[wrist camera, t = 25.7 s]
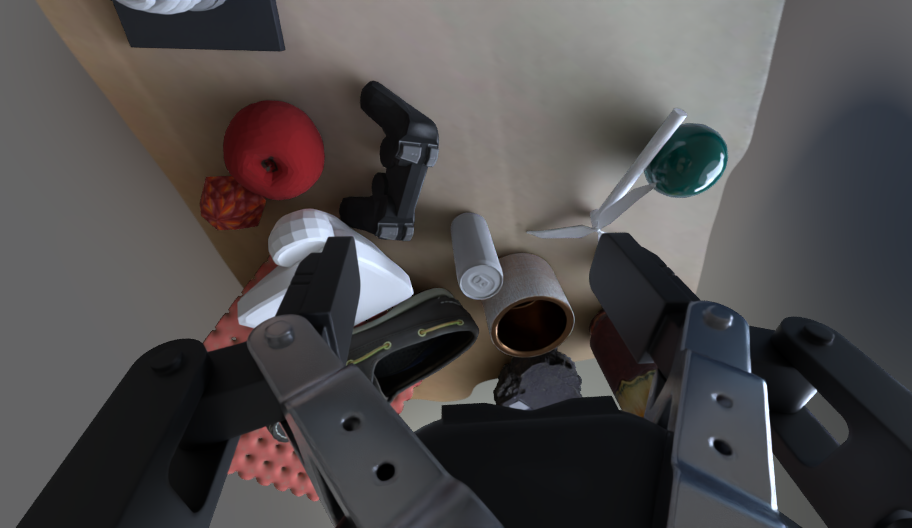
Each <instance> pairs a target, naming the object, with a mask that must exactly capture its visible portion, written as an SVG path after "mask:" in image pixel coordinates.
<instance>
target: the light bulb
mask: <svg viewBox="0 0 912 528" xmlns="http://www.w3.org/2000/svg"><path fill="white" fill-rule="evenodd" d="M116 1H118V2H119V3H121V4H123V5H125V6H127V7H129V8H132V9H136V10H142V11H146V12H150V13H159V14H175V13H180V12H185V11H187V10H190V11H205V10H210V9H214V8H216V7H218V6H219V5H221V4H223V3H224V2H225V0H116Z"/></svg>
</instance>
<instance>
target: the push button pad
mask: <svg viewBox="0 0 912 528" xmlns="http://www.w3.org/2000/svg"><path fill="white" fill-rule="evenodd" d="M111 1H113V4H114V6H115V9H116V11H117V14H118V16H119V19H120V21H121V24H122V26H123V29H124V31H125V34H126V36H127V39H128V41H129V44H130V46H131V47H139V48H175V49H212V50H249V51H283V50H285V46H284V41H283V36H282V31H281V26H280V21H279V16H278V11H277V6H276V0H225V2H224V3H223V4H221V5H219V6H218V7H216V8H214V9H210V10H205V11H190V10H187V11H185V12H180V13H175V14H159V13H150V12H146V11H142V10H136V9H132V8H129V7H127V6H125V5H123V4H121V3H119V2H118V1H116V0H111Z"/></svg>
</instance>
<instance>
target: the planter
mask: <svg viewBox="0 0 912 528" xmlns="http://www.w3.org/2000/svg"><path fill="white" fill-rule="evenodd" d="M498 260H499V263H500V266H501V269H502V273H503V284H502V287H501V289H500V290H499V291H498V292H497V293H496V294H495V295H493V296H492V297H490V298H487V299H482V304H483V308H484V312H485V316H486V320H487V325H488V329H489V333H490V337H491V340H492V342H493V344H494V345H495V347H496V348H497V349H499V350H500V351H501V352H503V353H505V354H508V355H511V356H515V357H533V356H538V355H542V354H544V353H547V352H549V351H551V350H553V349H555V348H557V347H558V346H559V345H561V344H562V343H563V342H564V341H565V340H566V339H567V338H568V337H569V335H570V334H571V332H572V330H573V327H574V322H575V317H574V313H573V310H572V308H571V306H570V304H569V302H568V300H567V298H566V296H565V294H564V292H563V290H562V288H561V286H560V284H559V282H558V280H557V278H556V276H555V274H554V272H553V270H552V268H551V266H550V265H549V264H548V263H547V262H546V261H545V260H544V259H543V258H541V257H539V256H537V255H534V254H530V253H515V254H510V255H507V256H504V257H502V258H500V259H498Z"/></svg>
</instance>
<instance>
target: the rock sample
mask: <svg viewBox="0 0 912 528" xmlns="http://www.w3.org/2000/svg"><path fill="white" fill-rule="evenodd" d="M556 351H557V348H555V349H553V350H551V351H549V352H547V353H544V354H542V355H538V356H533V357H515V356H514V357H512V359H511V363H510V364H509V365H507V364H505V366H504V367H503V368H502V370H501V372H500V375H499V376H498V379H499V381H498V383H497V386H496V388H495V390H494V391H493V393H494V400H495V401H496V405H500V406H506V407H511V408H517V409H523V410H536V409H539V408H542V407H545V406H548V405H551V404H554V403H557V402H561V401H564V400H567V399H570V398H581V397H582V395H581V394H580V391H581V386H580V385H581V383H582V379H581V377H580V376H579V375H577V371H576V367H575V363H574V362H572V361H571V358H570V357H566V355H565V354H561V353H560V352H556Z"/></svg>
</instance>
